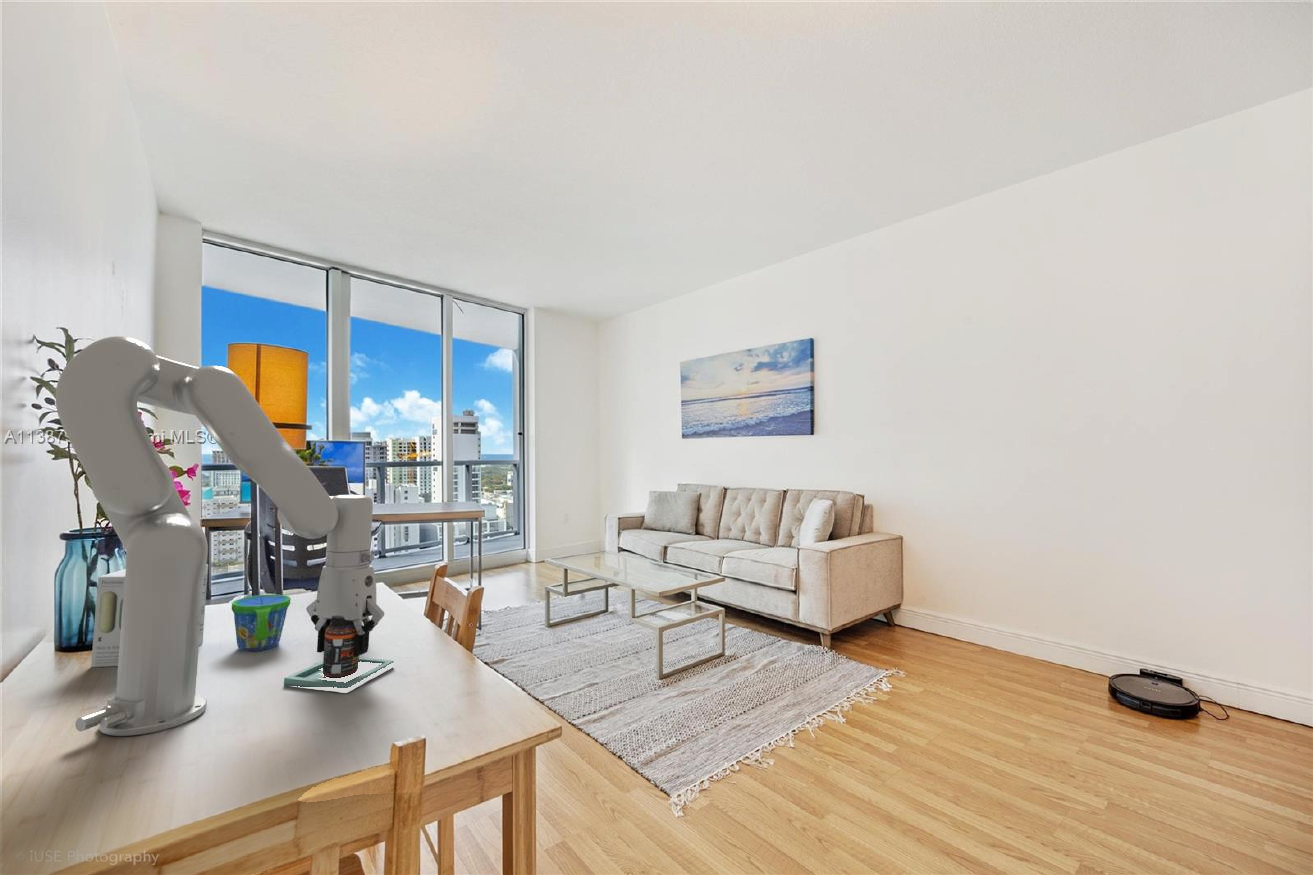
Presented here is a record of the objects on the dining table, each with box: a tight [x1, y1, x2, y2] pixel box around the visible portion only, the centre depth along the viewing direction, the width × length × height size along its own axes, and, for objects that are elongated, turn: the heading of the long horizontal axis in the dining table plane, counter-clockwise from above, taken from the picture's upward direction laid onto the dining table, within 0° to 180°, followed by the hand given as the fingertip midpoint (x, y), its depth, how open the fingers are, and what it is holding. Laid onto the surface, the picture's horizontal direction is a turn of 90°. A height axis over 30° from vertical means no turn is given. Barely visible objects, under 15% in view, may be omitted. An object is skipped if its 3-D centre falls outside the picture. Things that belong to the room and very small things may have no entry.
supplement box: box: [90, 563, 209, 668], centre depth 116 cm, size 13×13×18 cm
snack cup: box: [231, 594, 292, 652], centre depth 123 cm, size 16×10×10 cm
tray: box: [283, 656, 395, 688], centre depth 107 cm, size 13×13×2 cm
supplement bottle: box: [322, 616, 360, 678], centre depth 107 cm, size 6×6×11 cm
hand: (342, 651), depth 107 cm, fingers open, 7 cm apart
